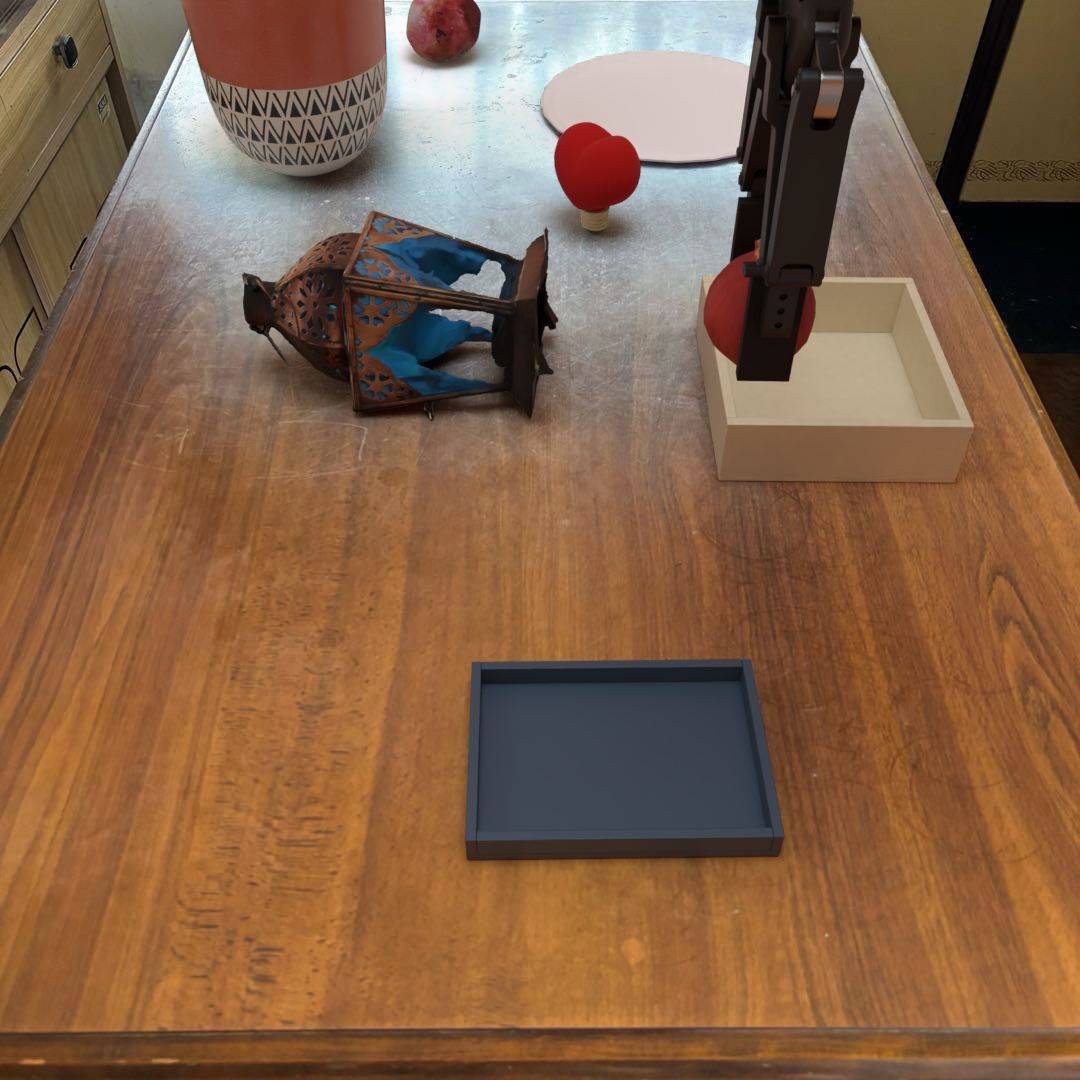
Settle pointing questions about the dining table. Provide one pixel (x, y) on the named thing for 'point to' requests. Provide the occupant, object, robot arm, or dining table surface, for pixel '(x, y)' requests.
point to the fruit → (443, 28)
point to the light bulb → (595, 171)
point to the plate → (655, 102)
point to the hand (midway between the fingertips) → (755, 340)
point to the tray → (618, 761)
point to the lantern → (405, 313)
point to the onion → (742, 308)
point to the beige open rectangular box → (843, 395)
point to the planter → (293, 77)
